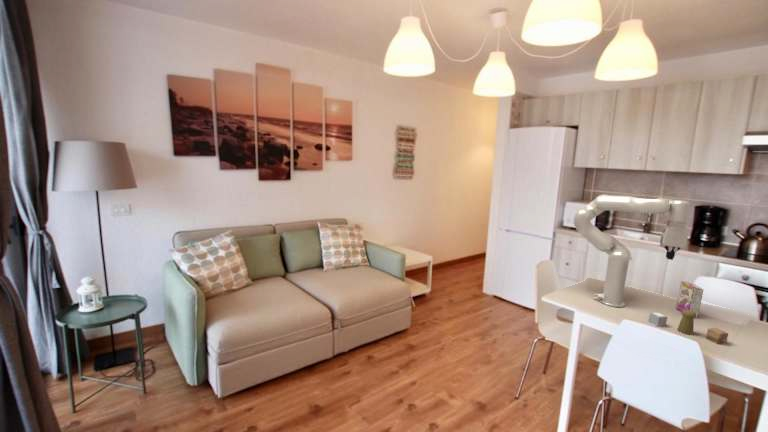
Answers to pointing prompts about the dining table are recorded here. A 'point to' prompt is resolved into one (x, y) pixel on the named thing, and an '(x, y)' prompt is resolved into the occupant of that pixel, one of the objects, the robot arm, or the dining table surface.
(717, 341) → the light brown cube
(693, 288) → the candy bar box
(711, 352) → the dining table surface
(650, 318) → the slate grey block
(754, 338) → the dining table surface
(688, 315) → the cork
